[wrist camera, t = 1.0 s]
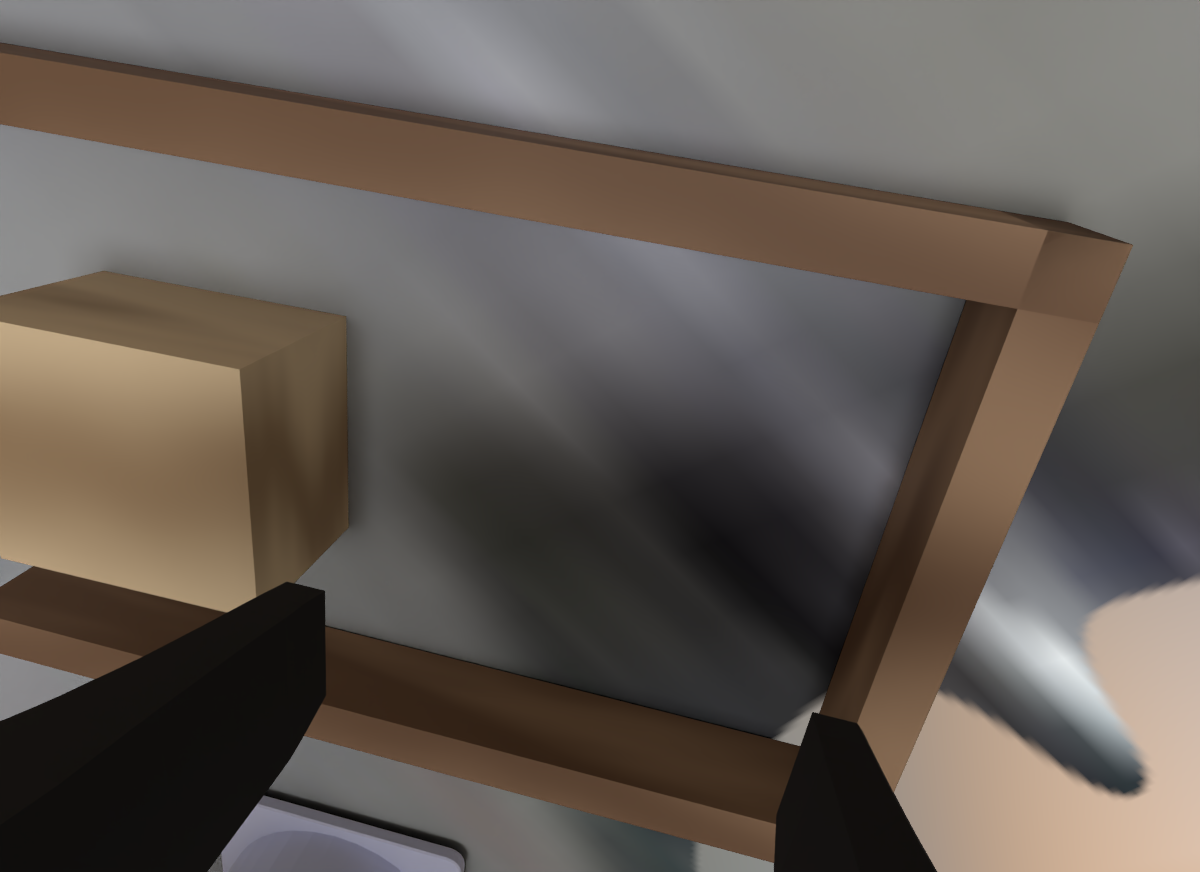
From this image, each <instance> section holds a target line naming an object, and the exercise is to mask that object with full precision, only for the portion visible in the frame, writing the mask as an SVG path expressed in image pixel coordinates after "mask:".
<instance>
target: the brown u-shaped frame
mask: <svg viewBox="0 0 1200 872" xmlns="http://www.w3.org/2000/svg"><path fill="white" fill-rule="evenodd" d="M0 124H3V125H8V126H14V127H19V128H25V129H30V130H36V131H41V132H47V133H52V134H58V135H63V136H69V137H74V138H80V139H85V140H91V141H96V142H102V143H107V144H113V145H118V146H124V147H129V148H135V149H140V150H146V151H151V152H157V153H162V154H168V155H173V156H179V157H184V158H190V159H195V160H201V161H206V162H212V163H217V164H223V165H228V166H234V167H239V168H245V169H250V170H256V171H261V172H267V173H272V174H278V175H283V176H289V177H294V178H300V179H305V180H311V181H316V182H322V183H327V184H333V185H338V186H344V187H349V188H355V189H360V190H366V191H371V192H377V193H382V194H388V195H393V196H399V197H404V198H410V199H415V200H421V201H426V202H432V203H437V204H443V205H448V206H454V207H459V208H465V209H470V210H476V211H481V212H487V213H492V214H498V215H503V216H509V217H514V218H520V219H525V220H531V221H536V222H542V223H547V224H553V225H558V226H564V227H569V228H575V229H580V230H586V231H591V232H597V233H602V234H608V235H613V236H619V237H624V238H630V239H635V240H641V241H646V242H652V243H657V244H663V245H668V246H674V247H679V248H685V249H690V250H696V251H701V252H707V253H712V254H718V255H723V256H729V257H734V258H740V259H745V260H751V261H756V262H762V263H767V264H773V265H778V266H784V267H789V268H795V269H800V270H806V271H811V272H817V273H822V274H828V275H833V276H839V277H844V278H850V279H855V280H861V281H866V282H872V283H877V284H883V285H888V286H894V287H899V288H905V289H910V290H916V291H921V292H927V293H932V294H938V295H943V296H949V297H954V298H960V299H965V300H966V303H965V306H964V309H963V312H962V314H961V317H960V320H959V323H958V326H957V328H956V331H955V334H954V337H953V340H952V342H951V345H950V348H949V351H948V354H947V356H946V359H945V362H944V365H943V368H942V371H941V373H940V376H939V379H938V382H937V385H936V387H935V390H934V393H933V396H932V399H931V401H930V404H929V407H928V410H927V413H926V415H925V418H924V421H923V424H922V427H921V429H920V432H919V435H918V438H917V441H916V444H915V446H914V449H913V452H912V455H911V458H910V460H909V463H908V466H907V469H906V472H905V474H904V477H903V480H902V483H901V486H900V488H899V491H898V494H897V497H896V500H895V502H894V505H893V508H892V511H891V514H890V516H889V519H888V522H887V525H886V528H885V531H884V533H883V536H882V539H881V542H880V545H879V547H878V550H877V553H876V556H875V559H874V561H873V564H872V567H871V570H870V573H869V575H868V578H867V581H866V584H865V587H864V589H863V592H862V595H861V598H860V601H859V604H858V606H857V609H856V612H855V615H854V618H853V620H852V623H851V626H850V629H849V632H848V634H847V637H846V640H845V643H844V646H843V648H842V651H841V654H840V657H839V660H838V662H837V665H836V668H835V671H834V674H833V677H832V679H831V682H830V685H829V688H828V691H827V693H826V696H825V699H824V702H823V705H822V707H821V710H820V713H819V714H822V715H826V716H830V717H834V718H838V719H842V720H847V721H851V722H855V723H858V725H859V726H860V728H861V729H862V731H863V733H864V735H865V737H866V739H867V741H868V743H869V745H870V747H871V749H872V751H873V753H874V755H875V757H876V759H877V761H878V763H879V765H880V767H881V769H882V771H883V773H884V775H885V777H886V779H887V781H888V783H889V784H890V786H891V788H892V790H893V792H894V791H895V788H896V786H897V784H898V781H899V779H900V777H901V775H902V772H903V770H904V768H905V766H906V763H907V761H908V759H909V756H910V754H911V752H912V750H913V747H914V745H915V743H916V740H917V738H918V736H919V733H920V731H921V729H922V727H923V724H924V722H925V720H926V718H927V715H928V713H929V711H930V708H931V706H932V704H933V701H934V699H935V697H936V695H937V692H938V690H939V688H940V686H941V683H942V681H943V679H944V676H945V674H946V672H947V670H948V667H949V665H950V663H951V660H952V658H953V656H954V654H955V651H956V649H957V647H958V644H959V642H960V640H961V638H962V635H963V633H964V631H965V628H966V626H967V624H968V621H969V619H970V617H971V615H972V612H973V610H974V608H975V605H976V603H977V601H978V599H979V596H980V594H981V592H982V589H983V587H984V585H985V583H986V580H987V578H988V576H989V573H990V571H991V569H992V567H993V564H994V562H995V560H996V557H997V555H998V553H999V551H1000V548H1001V546H1002V544H1003V541H1004V539H1005V537H1006V535H1007V532H1008V530H1009V528H1010V525H1011V523H1012V521H1013V519H1014V516H1015V514H1016V512H1017V509H1018V507H1019V505H1020V503H1021V500H1022V498H1023V496H1024V493H1025V491H1026V489H1027V487H1028V484H1029V482H1030V480H1031V477H1032V475H1033V473H1034V471H1035V468H1036V466H1037V464H1038V461H1039V459H1040V457H1041V455H1042V452H1043V450H1044V448H1045V445H1046V443H1047V441H1048V439H1049V436H1050V434H1051V432H1052V429H1053V427H1054V425H1055V423H1056V420H1057V418H1058V416H1059V413H1060V411H1061V409H1062V407H1063V404H1064V402H1065V400H1066V397H1067V395H1068V393H1069V391H1070V388H1071V386H1072V384H1073V381H1074V379H1075V377H1076V375H1077V372H1078V370H1079V368H1080V365H1081V363H1082V361H1083V359H1084V356H1085V354H1086V352H1087V349H1088V347H1089V345H1090V343H1091V340H1092V338H1093V336H1094V333H1095V331H1096V329H1097V327H1098V324H1099V322H1100V320H1101V317H1102V315H1103V313H1104V311H1105V308H1106V306H1107V304H1108V301H1109V299H1110V297H1111V295H1112V292H1113V290H1114V288H1115V285H1116V283H1117V281H1118V279H1119V276H1120V274H1121V272H1122V269H1123V267H1124V265H1125V263H1126V260H1127V258H1128V256H1129V253H1130V251H1131V249H1132V247H1133V245H1132V244H1129V243H1126V242H1123V241H1120V240H1118V239H1115V238H1112V237H1109V236H1106V235H1103V234H1100V233H1097V232H1095V231H1092V230H1089V229H1086V228H1083V227H1080V226H1077V225H1075V224H1072V223H1069V222H1063V221H1057V220H1051V219H1045V218H1039V217H1033V216H1027V215H1021V214H1015V213H1010V212H1004V211H998V210H992V209H986V208H980V207H974V206H968V205H962V204H956V203H950V202H944V201H938V200H932V199H926V198H920V197H914V196H908V195H902V194H897V193H891V192H885V191H879V190H873V189H867V188H861V187H855V186H849V185H843V184H837V183H831V182H825V181H819V180H813V179H807V178H801V177H795V176H790V175H784V174H778V173H772V172H766V171H760V170H754V169H748V168H742V167H736V166H730V165H724V164H718V163H712V162H706V161H700V160H694V159H688V158H683V157H677V156H671V155H665V154H659V153H653V152H647V151H641V150H635V149H629V148H623V147H617V146H611V145H605V144H599V143H593V142H587V141H581V140H576V139H570V138H564V137H558V136H552V135H546V134H540V133H534V132H528V131H522V130H516V129H510V128H504V127H498V126H492V125H486V124H480V123H474V122H469V121H463V120H457V119H451V118H445V117H439V116H433V115H427V114H421V113H415V112H409V111H403V110H397V109H391V108H385V107H379V106H373V105H367V104H362V103H356V102H350V101H344V100H338V99H332V98H326V97H320V96H314V95H308V94H302V93H296V92H290V91H284V90H278V89H272V88H266V87H260V86H255V85H249V84H243V83H237V82H231V81H225V80H219V79H213V78H207V77H201V76H195V75H189V74H183V73H177V72H171V71H165V70H159V69H153V68H148V67H142V66H136V65H130V64H124V63H118V62H112V61H106V60H100V59H94V58H88V57H82V56H76V55H70V54H64V53H58V52H52V51H46V50H40V49H35V48H29V47H23V46H17V45H11V44H5V43H0ZM225 613H227V612H223V611H218V610H214V609H210V608H206V607H202V606H198V605H194V604H189V603H185V602H181V601H177V600H173V599H169V598H165V597H160V596H156V595H152V594H148V593H144V592H140V591H135V590H131V589H127V588H123V587H119V586H115V585H111V584H106V583H102V582H98V581H94V580H90V579H86V578H82V577H77V576H73V575H69V574H65V573H61V572H57V571H53V570H48V569H44V568H40V567H36V566H33V567H31V568H30V569H28V570H27V571H25V572H23V573H22V574H20V575H19V576H17V577H15V578H14V579H12V580H11V581H9V582H8V583H6V584H4V585H3V586H1V587H0V653H1V654H4V655H8V656H12V657H15V658H19V659H23V660H26V661H30V662H34V663H38V664H41V665H45V666H49V667H52V668H56V669H60V670H63V671H67V672H71V673H74V674H78V675H82V676H86V677H89V678H93V679H97V678H99V677H101V676H103V675H105V674H107V673H109V672H111V671H114V670H116V669H118V668H120V667H122V666H124V665H126V664H128V663H130V662H132V661H135V660H137V659H139V658H141V657H143V656H145V655H147V654H149V653H151V652H153V651H155V650H157V649H158V648H160V647H162V646H164V645H166V644H168V643H170V642H172V641H174V640H176V639H178V638H180V637H182V636H184V635H185V634H187V633H189V632H191V631H193V630H195V629H197V628H199V627H201V626H203V625H205V624H207V623H208V622H210V621H212V620H214V619H216V618H218V617H220V616H222V615H223V614H225ZM325 640H326V697H325V698H324V700H323V702H322V704H321V706H320V708H319V709H318V711H317V713H316V715H315V717H314V718H313V720H312V722H311V724H310V726H309V728H308V729H307V731H306V733H305V735H304V736H307V737H311V738H315V739H318V740H322V741H326V742H329V743H333V744H337V745H340V746H344V747H348V748H351V749H355V750H359V751H363V752H366V753H370V754H374V755H377V756H381V757H385V758H388V759H392V760H396V761H399V762H403V763H407V764H411V765H414V766H418V767H422V768H425V769H429V770H433V771H436V772H440V773H444V774H447V775H451V776H455V777H459V778H462V779H466V780H470V781H473V782H477V783H481V784H484V785H488V786H492V787H495V788H499V789H503V790H507V791H510V792H514V793H518V794H521V795H525V796H529V797H532V798H536V799H540V800H543V801H547V802H551V803H555V804H558V805H562V806H566V807H569V808H573V809H577V810H580V811H584V812H588V813H591V814H595V815H599V816H603V817H606V818H610V819H614V820H617V821H621V822H625V823H628V824H632V825H636V826H640V827H643V828H647V829H651V830H654V831H658V832H662V833H665V834H669V835H673V836H676V837H680V838H684V839H688V840H691V841H695V842H699V843H702V844H706V845H710V846H713V847H717V848H721V849H725V850H728V851H732V852H736V853H739V854H743V855H747V856H751V857H754V858H758V859H761V860H766V861H769V862H773V863H774V853H775V833H776V814H777V811H778V809H779V806H780V803H781V800H782V797H783V794H784V792H785V789H786V786H787V783H788V780H789V777H790V775H791V772H792V769H793V766H794V763H795V760H796V758H797V755H798V752H799V749H800V746H797V745H793V744H789V743H785V742H781V741H777V740H773V739H769V738H765V737H761V736H757V735H753V734H749V733H745V732H741V731H737V730H734V729H730V728H726V727H722V726H718V725H714V724H710V723H706V722H702V721H698V720H694V719H690V718H686V717H682V716H678V715H674V714H670V713H666V712H662V711H658V710H654V709H650V708H646V707H642V706H638V705H634V704H631V703H627V702H623V701H619V700H615V699H611V698H607V697H603V696H599V695H595V694H591V693H587V692H583V691H579V690H575V689H571V688H567V687H563V686H559V685H555V684H551V683H547V682H543V681H539V680H535V679H532V678H528V677H524V676H520V675H516V674H512V673H508V672H504V671H500V670H496V669H492V668H488V667H484V666H480V665H476V664H472V663H468V662H464V661H460V660H456V659H452V658H448V657H444V656H440V655H436V654H432V653H429V652H425V651H421V650H417V649H413V648H409V647H405V646H401V645H397V644H393V643H389V642H385V641H381V640H377V639H373V638H369V637H365V636H361V635H357V634H353V633H349V632H345V631H341V630H337V629H333V628H330V627H326V626H325Z"/></svg>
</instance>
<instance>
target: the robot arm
mask: <svg viewBox="0 0 1200 872" xmlns="http://www.w3.org/2000/svg"><path fill="white" fill-rule="evenodd" d="M325 697H326V640H325V591H323V590H319V589H315V588H311V587H307V586H303V585H299V584H295V583H291V582H285V583H283V584H281V585H279V586H277V587H275V588H273V589H271V590H269V591H267V592H265V593H263V594H261V595H259V596H257V597H255V598H254V599H252V600H250V601H248V602H246V603H244V604H242V605H240V606H238V607H237V608H235V609H233V610H231V611H229V612H227V613H225V614H223V615H222V616H220V617H218V618H216V619H214V620H212V621H210V622H208V623H207V624H205V625H203V626H201V627H199V628H197V629H195V630H193V631H191V632H189V633H187V634H185V635H184V636H182V637H180V638H178V639H176V640H174V641H172V642H170V643H168V644H166V645H164V646H162V647H160V648H158V649H157V650H155V651H153V652H151V653H149V654H147V655H145V656H143V657H141V658H139V659H137V660H135V661H132V662H130V663H128V664H126V665H124V666H122V667H120V668H118V669H116V670H114V671H111V672H109V673H107V674H105V675H103V676H101V677H99V678H97V679H95V680H92V681H90V682H88V683H86V684H84V685H82V686H80V687H78V688H76V689H73V690H71V691H69V692H67V693H65V694H63V695H61V696H59V697H56V698H54V699H52V700H50V701H47V702H45V703H43V704H40V705H38V706H36V707H33V708H31V709H29V710H26V711H24V712H22V713H19V714H17V715H14V716H12V717H10V718H7V719H5V720H2V721H0V872H207V871H208V870H209V869H210V867H211V866H212V865H213V863H214V862H215V861H216V859H217V858H218V856H219V855H220V854H221V856H222V866H223V872H464V867H465V862H464V858H463V857H462V855H461V854H460V853H459V852H457V851H456V850H454V849H452V848H449V847H445V846H442V845H438V844H435V843H431V842H427V841H424V840H420V839H417V838H413V837H410V836H406V835H403V834H399V833H396V832H392V831H389V830H385V829H381V828H378V827H374V826H371V825H367V824H364V823H360V822H357V821H353V820H350V819H346V818H342V817H339V816H335V815H332V814H328V813H325V812H321V811H318V810H314V809H311V808H307V807H303V806H300V805H296V804H293V803H289V802H286V801H282V800H279V799H275V798H272V797H268V796H264V794H265V793H266V792H267V790H268V789H269V787H270V786H271V785H272V783H273V782H274V781H275V779H276V778H277V776H278V775H279V774H280V772H281V771H282V770H283V768H284V767H285V765H286V764H287V763H288V761H289V760H290V758H291V757H292V755H293V753H294V752H295V750H296V748H297V746H298V745H299V743H300V741H301V740H302V738H303V736H304V735H305V733H306V731H307V729H308V728H309V726H310V724H311V722H312V720H313V718H314V717H315V715H316V713H317V711H318V709H319V708H320V706H321V704H322V702H323V700H324V698H325ZM774 872H937V871H936V869H935V867H934V866H933V864H932V862H931V860H930V859H929V857H928V855H927V853H926V851H925V850H924V848H923V846H922V844H921V843H920V841H919V839H918V837H917V835H916V834H915V832H914V830H913V828H912V826H911V825H910V822H909V821H908V819H907V817H906V815H905V813H904V811H903V809H902V807H901V806H900V804H899V802H898V800H897V798H896V796H895V794H894V792H893V790H892V788H891V786H890V784H889V783H888V781H887V779H886V777H885V775H884V773H883V771H882V769H881V767H880V765H879V763H878V761H877V759H876V757H875V755H874V753H873V751H872V749H871V747H870V745H869V743H868V741H867V739H866V737H865V735H864V733H863V731H862V729H861V728H860V726H859V725H858V723H855V722H851V721H847V720H842V719H838V718H834V717H830V716H826V715H822V714H818V713H814V712H813V713H812V715H811V718H810V721H809V723H808V726H807V729H806V732H805V735H804V738H803V741H802V743H801V746H800V749H799V752H798V755H797V758H796V760H795V763H794V766H793V769H792V772H791V775H790V777H789V780H788V783H787V786H786V789H785V792H784V794H783V797H782V800H781V803H780V806H779V809H778V811H777V814H776V833H775V853H774Z"/></svg>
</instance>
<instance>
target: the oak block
mask: <svg viewBox="0 0 1200 872" xmlns="http://www.w3.org/2000/svg"><path fill="white" fill-rule="evenodd" d="M348 528H349V518H348V430H347V341H346V316H341V315H336V314H331V313H325V312H320V311H315V310H309V309H304V308H299V307H293V306H288V305H283V304H277V303H272V302H267V301H261V300H256V299H251V298H245V297H240V296H235V295H229V294H224V293H219V292H213V291H208V290H203V289H197V288H192V287H187V286H181V285H176V284H171V283H165V282H160V281H155V280H149V279H144V278H139V277H133V276H128V275H123V274H117V273H112V272H107V271H101V272H97V273H93V274H89V275H85V276H80V277H76V278H72V279H68V280H64V281H60V282H56V283H51V284H47V285H43V286H39V287H35V288H31V289H27V290H23V291H18V292H14V293H10V294H6V295H2V296H0V555H1V558H3V559H7V560H11V561H15V562H19V563H23V564H28V565H32V566H36V567H40V568H44V569H48V570H53V571H57V572H61V573H65V574H69V575H73V576H77V577H82V578H86V579H90V580H94V581H98V582H102V583H106V584H111V585H115V586H119V587H123V588H127V589H131V590H135V591H140V592H144V593H148V594H152V595H156V596H160V597H165V598H169V599H173V600H177V601H181V602H185V603H189V604H194V605H198V606H202V607H206V608H210V609H214V610H218V611H223V612H229V611H231V610H233V609H235V608H237V607H238V606H240V605H242V604H244V603H246V602H248V601H250V600H252V599H254V598H255V597H257V596H259V595H261V594H263V593H265V592H267V591H269V590H271V589H273V588H275V587H277V586H279V585H281V584H283V583H285V582H291V583H295V582H296V581H297V580H298V579H299V578H300V577H301V576H302V575H303V574H304V573H305V572H306V571H307V569H308V568H309V567H310V566H311V565H312V564H313V563H314V562H315V561H316V560H317V559H318V558H319V557H320V556H321V555H322V554H323V553H324V552H325V551H326V550H327V549H328V548H329V547H330V546H331V545H332V544H333V543H334V542H335V541H336V540H337V539H338V538H339V537H340V536H341V535H342V534H343V533H344V532H345V531H346V530H347V529H348Z"/></svg>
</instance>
